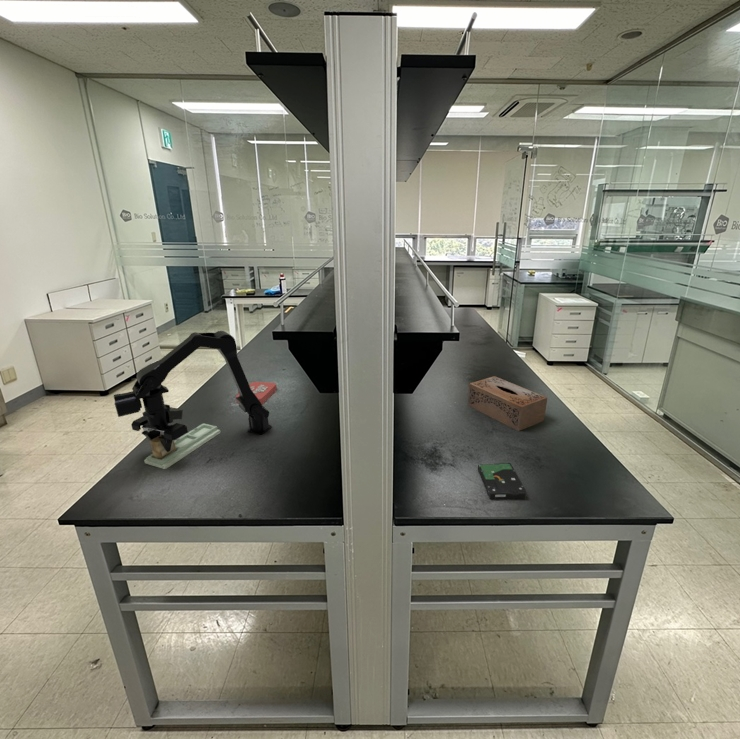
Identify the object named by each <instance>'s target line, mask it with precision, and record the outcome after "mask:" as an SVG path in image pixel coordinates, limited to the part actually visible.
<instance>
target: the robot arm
mask: <svg viewBox="0 0 740 739" xmlns="http://www.w3.org/2000/svg"><path fill="white" fill-rule="evenodd" d="M237 347H238V346H237V344H236V339H235V338H234V336H233V335H231V334H230V333H228V332H227V331H225V330H217V331H216V332H207V331H206V332H197V331H195V332H192V333H190V334H189V336H187V338H185V339H184V340H183V341H181V342H180V343H179V344H178V345H177V346H175V347H174V348H173V349H171V350H170V352H168V353H166V355H164V356H163V357H162V358H160V359H159V360H157V361H154V362H152V363H150V364H148V365H146V366H144V367H142V368H141V369H139V370H138V372H137V373H136V381H135V382H134V384H133V385H132V388H131V389H132V391H128V392H124V393H117V394H116V393H115V394H113V399H114V408H115V411H116V414H117V417H118V418H121V417H124V416H129V415H133V414H137V413H140V412H141V409H142V408H144V411H143V412H142V416H140V417H139V418H136V419H134V420H133V421H132V422H131V429H132V431H136V432H140V430H142V432H141V435H144V437H146V438H147V439H148V440H149V442H150V441H151V440H152V439H154V438H156V437H158V436H159V435H161V432H162V434H163V435H161V436H160V437H158V438H159V440H160V442H161V443H162V445H163V447H164V448H165V450H166V451H167V452H169V451H170V450H171V445H172V440H174V441H175V440H176V439H178V438H180V437H181V436H183V435H185V434H186V433H188V432H189V430H188V426H187V425H186V424H184V423H183V424H182V423H177V422H175V423H174V420H183V411H184V409H181V408H177V407H172V406H171V405H170V404H165V400H164V395H163V394H167V393H169V392H170V391H169V389H168V387H167V386H164V385H163V382H164V381H165V380H166V378H167V377H168V375H169V374H170V372H171V371H172V370H174V368H176V367H177V366H178V365H180V364H181V363H182V362H183V361H185V360H186V359H187V358H188V357H189V356H190V355H192V354H193V353H194V352H195V351H196V350H198V349H199V348H208V349H216V350H217V351H218V353H219V354H220V355H221V357H223V360H224V361H225V364H226V366H227V369H228V370H229V372H230V375H231V377H232V379H233V382H234V383H235V386H236V388H237V392H238V391H239V397H236V396H235V400H236V399H237V401H238V403H239V404H238V403H237V404H238V407H239V408H240V409H241V410H242V411H243V412H244V413H246V414H248V418H247V419H248V425H249V429H247V432H248V433H252V434H255V435H256V434H257V435H263V434H265V433H266V432H267V431H269V430H270V429H271V428H273V426H272V425H270V423H269V416H270V411H269V410H268V409H267V408H266V407H265V406H264V405H263V404H261V402H260V401H259V400H258V398H257V397H256V395H255V394H254V393H253V392H252V390H251V388H250V386H249V384H250V383H249V381H248V379H247V378H248V377H246V374H245V371H244V369H243V367H242V364H241V362H240V360H239V356H238V348H237ZM141 399H142V401H141ZM237 401H236V402H237ZM142 403H143V404H142ZM142 405H143V406H142ZM171 423H174V424H171ZM169 424H170V425H169Z"/></svg>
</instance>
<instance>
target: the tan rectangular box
mask: <svg viewBox="0 0 740 739" xmlns="http://www.w3.org/2000/svg"><path fill="white" fill-rule="evenodd" d="M161 435H163V433H160V435H159V436H158V437H160V436H161ZM158 437H156V438H154V439H152V440H151V441H150V440H149V443H150V447H151V451H152V454H153V456H154V457H156V458H159V459H162V458H163V457H165V456H167V455H168V454H170V453H171V452H173V451H174V450H176V448H175V444H174V441H175V440H172V445H171V450H170V451H169V452H167V451H166V450H165V448H164V447H163V445H162V443H161V442H160V440H159V438H158Z"/></svg>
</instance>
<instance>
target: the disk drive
mask: <svg viewBox="0 0 740 739" xmlns="http://www.w3.org/2000/svg"><path fill="white" fill-rule="evenodd" d="M477 471H478V474H479V477H480V478H481V482H482V484H483V486H484V489H485V492H486V493H487V497H488V498H489V500H493V501H494V500H527V490H526V489H525V487H524V485H523V483H522V481H521V479H520V478H519V475H517V472H516V470H515V468H514V466H513V464H512V463H511V462H493V463H482V462H480V463H479V464H477Z"/></svg>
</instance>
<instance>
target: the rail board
mask: <svg viewBox="0 0 740 739" xmlns="http://www.w3.org/2000/svg"><path fill="white" fill-rule="evenodd" d="M219 434H221V430H220V429H218V426H217V425H211V424H208V423H201V424H199V425H198V426H197V427H194V428H193V429H191V430H189V431H188V433H186V434H184V435H183V436H181V437H179V438H178V439H176V440H174V444H175V448H176V450H174V451H173V452H171V453H170V454H168V455H167V456H165V457H163V458H162V459H159V458H156V457H154V456H153V453H151V454H149V455H148V456H146V458H145V459H144V460H143V461H144V464H146V465H150V466H153V467H156V468H158V469H163V470H166V469H168V468H170V467H171V466H173V465H174V464H175V463H177V462H179V461H180V460H182V459H183V458H185V457H186V456H188V455H189V454H191V453H192V452H193V451H195V450H197V449H198V448H200V447H202V446H203V445H205V444H206V443H208V442H209V441H210V440H213V438H215V437H216V436H219Z"/></svg>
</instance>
